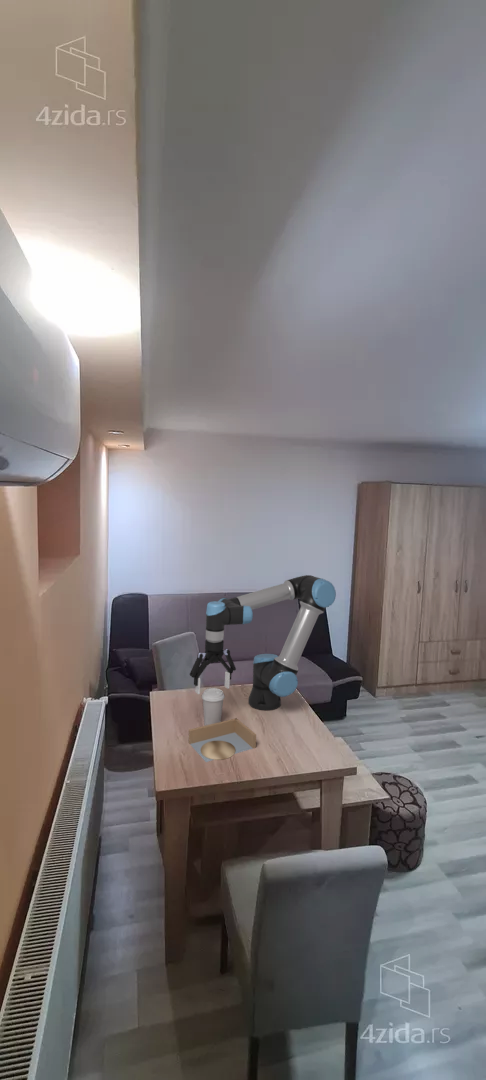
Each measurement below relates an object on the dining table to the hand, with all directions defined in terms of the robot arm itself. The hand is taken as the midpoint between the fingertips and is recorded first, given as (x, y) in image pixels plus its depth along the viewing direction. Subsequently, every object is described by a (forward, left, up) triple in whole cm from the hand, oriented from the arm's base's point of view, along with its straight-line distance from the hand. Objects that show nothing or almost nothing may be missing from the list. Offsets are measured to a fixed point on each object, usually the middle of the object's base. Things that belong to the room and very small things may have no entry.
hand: (212, 690), depth 191 cm
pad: (+7, +19, -15) cm, 25 cm away
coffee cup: (0, 0, -16) cm, 16 cm away
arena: (+4, +16, -16) cm, 23 cm away
